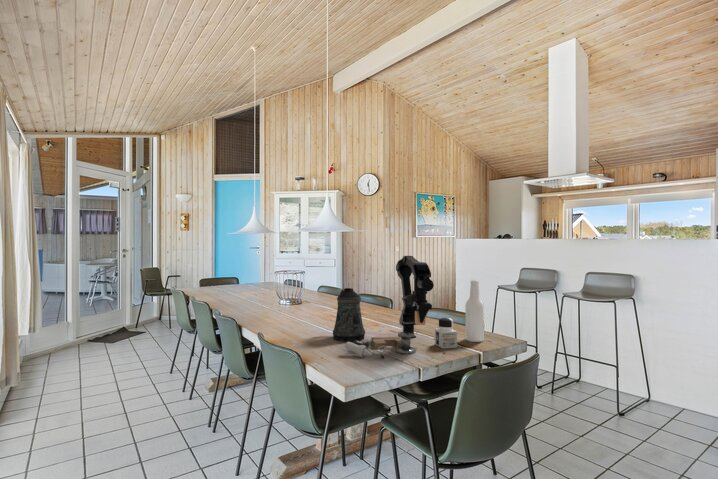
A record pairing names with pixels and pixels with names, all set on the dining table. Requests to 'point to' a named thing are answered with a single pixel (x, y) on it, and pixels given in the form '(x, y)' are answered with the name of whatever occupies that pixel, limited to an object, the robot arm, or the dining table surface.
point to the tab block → (417, 320)
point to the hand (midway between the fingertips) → (420, 322)
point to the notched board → (385, 341)
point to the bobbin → (405, 343)
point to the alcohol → (474, 315)
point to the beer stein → (348, 317)
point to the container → (446, 334)
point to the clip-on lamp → (360, 348)
